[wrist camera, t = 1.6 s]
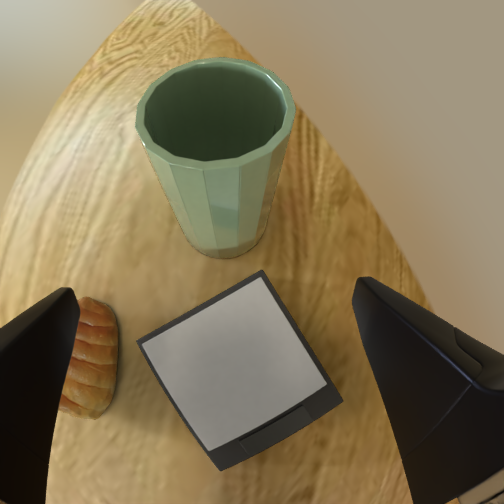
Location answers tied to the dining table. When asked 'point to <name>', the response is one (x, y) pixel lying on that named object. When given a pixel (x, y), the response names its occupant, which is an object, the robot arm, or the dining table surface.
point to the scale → (239, 372)
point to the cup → (217, 148)
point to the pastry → (91, 362)
